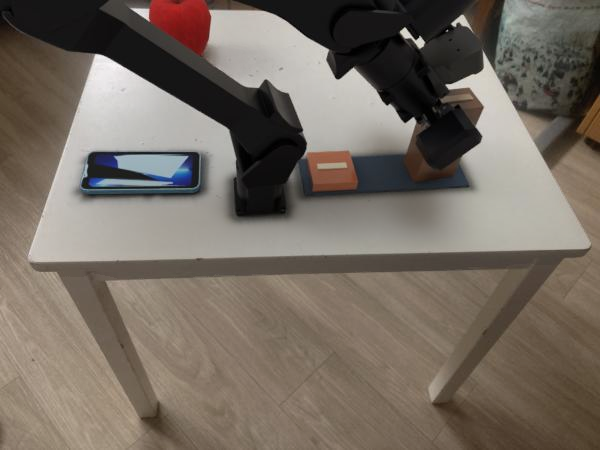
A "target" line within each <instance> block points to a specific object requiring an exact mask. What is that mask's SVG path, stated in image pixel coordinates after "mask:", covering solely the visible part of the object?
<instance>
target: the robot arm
mask: <svg viewBox="0 0 600 450" xmlns="http://www.w3.org/2000/svg"><path fill="white" fill-rule="evenodd" d="M232 1H233V2H236V3H239V4H242V5H244V6H248V7H250V8H253V9H256V10H259V11H263V12H266V13H267V14H268V13H269V14H271V15H274V16H276V17H278V18H280V19H281V20H282V21H285V22H287V23H288V24H289V25H290V26H292V27H293V28H294V29H296V30H297V32H299V33H301V34H302V35H303V36H304V37H305V38H307V39H309V40H310V41H313V42H314V43H316V44H318V45H320V46H321V47H323V48H325V49H327V50H328V51H327V53H326V54H327V55H326V58H325V61H326V63H327V65H328V67H329V69H330V71H331V73H332V75H333V76H334V79H336V80H341V79H342V78H343V77H344V76H346V75H347V74H348V73H349V72H350V71H351V70H353V69H354V70H355V71H356V72H357V73H358V74H359V75H360V76H361V77H362V78H363V79H364V80H365V81H366V82H367V83H368V84H369V85H370V86H371V87H372V88H373V89H374V90H375V91H376V93H377V94H378V96H379V98H380V100H381V102H382V103H383V104H384V105H386V106H387V107H388V106H389V105H390V106H391V107H392V108H394V110H395V112H396V114H397V115H398V118H399V119H400V120H401V121H402V122H403V123H404V124H407V123H408V122H410V120H412V119H414V121H415V123H416V122H417V123H418V125H419V126H420V127H421V126H423V125H424V124H426V123H427V126H425V129H424V130H423V131H422V132H420V133H419V134H418V135H416V138H417V139H416V142H415V144H416V146H417V148H418V149H419V151H420V153H421V155H422V156H423V158H424V160H425V161H426V163H427V164H428V165H429V166H430V167H431V168H432V169H433V170H434V171H441V170H443V169H444V168H446V167H447V166H448V165H450V164H451V163H453V162H454V161H456V160H457V159H458V158H460V157H461V156H462V157H463V156H464V155H465V154H467V153H469V152H470V151H471V150H473V149H475V148H476V147H477V146H478V145H480V144H481V143H482V140H483V134H482V133H481V132H480V130H479V129H478V127H477V125H476V126H475V125H474V124H473V122H472V121H471V119H470V118H469V117H468V115H467V114H466V113H465V112H464V110H463V109H462V108H461V107H460V105H459V104H457V105H456V106H454V107H453V106H452V104H451V103H449V102H446V103H442V101H441V100H440V99H443V98H444V97H445V96H446V95H448V94H449V93H450V89H449V87H448V86H447V85H453V84H455V83H458V82H460V81H461V80H464V79H466V78H468V77H470V76H473V75H474V76H475V75H478V74H480V73H481V72H483V70H484V69H485V63H484V45H483V42H482V41H481V40H480V38H479V37H478V36H477V35H476V34H475V32H473V30H472V29H471V28H470V27H469V26H466V25H463V24H462V23H461V22H460V21H458V22H456V23H455V25H453V23H454V22H455V21H457V20H458V19H459V18H460V17H461V16H462V15H463V14H465V13H466V12H467V11H468V10H469V9H470V8H472V7H473V6H474V5H476V3H477V2H479V0H232ZM0 12H1V15H2V18H3V19H4V20H5V21H6V22H7V23H8V24H9V25H10V26H11V27H13V28H14V29H15V30H16V31H19V33H21V34H24V35H25V36H28V37H30V38H33V39H35V40H38V41H40V42H43V43H45V44H48V45H50V46H53V47H55V48H57V49H60V50H63V51H64V52H68V53H69V52H70V53H78V54H87V55H88V54H89V55H97V56H98V55H99V56H102V57H105V58H107V59H108V60H111V61H112V62H114V63H116V64H117V65H119V66H121V67H122V68H125V70H127V71H130V72H131V73H133V74H134V75H136V76H138V77H139V78H142V79H143V80H144V81H146V82H148V83H150V84H151V85H154V86H155V87H157V88H158V89H160V90H162V91H163V92H165V93H167V94H168V95H171V96H172V97H174V98H176V99H177V100H179V101H180V102H182V103H183V104H186V105H187V106H189V107H191V108H193V109H194V110H195V111H198V112H199V113H201V114H202V115H204V116H206V117H208V118H209V119H211V120H212V121H214V122H216V123H218V124H220V125H221V126H223V127H225V128H226V129H228V130H229V131H228V132H229V136H230V140H231V143H232V147H233V152H234V155H235V172H236V173H235V175H236V176H235V177H233V180H232V181H233V196H234V212H235V216H238V217H247V216H248V217H249V216H263V215H264V216H265V215H280V214H283V215H284V214H285V213H287V210H288V208H287V201H286V194H285V188H284V185H286V184H287V183H288V181H289V179H290V178H291V175H292V174H293V171H294V170H295V169H296V166H297V164H298V163H299V160H300V159H303V157H304V156H305V153H307V152H306V151H307V146H308V142H307V140H306V136H305V134H304V128H303V126H302V122H301V120H300V118H299V115H298V113H297V111H296V108H295V106H294V103H293V100H292V98H291V95H290V93H288V92H284V91H282V90H279V89H278V88H277V87H276V86H275V85H274V84H273V83H272V82H271V81H270V80H268V79H267V78H265V79H264V80H262V82H261V84H260V85H259V87H251V86H246V85H244V84H241V83H240V82H238V81H237V80H235V78H233V77H231V76H230V75H228V74H227V73H225V72H224V71H223V70H222V69H221V70H220V69H219V68H218V67H216V66H215V65H214V64H212V63H210V62H209V61H208V60H206V59H205V58H203V57H202V56H199V55H198V54H196V53H195V52H193V51H192V50H190V49H189V48H187V47H186V46H184V45H183V44H181V43H180V42H179V41H177V40H176V39H174V38H173V37H171V36H170V35H168V34H167V33H165V32H164V31H163V30H161V29H160V28H158V27H157V26H155V25H154V24H152V23H151V22H150V21H149V19H147V18H145V17H144V16H142V15H141V14H139V13H138V12H137V11H135V10H133V9H132V8H130V7H129V6H128V5H127V4H126V3H125V2H124V1H123V0H0ZM404 29H406V30H407V32H408V33H409V34H410V36H411V37H407V38H405V37H404V35H403V34H402V33H401V32H402V31H403V30H404ZM420 38H421V39H422V41H423V42H424V43H423V46H422V47H419V46H418V45H417V43H416V42H415V41H418V39H420ZM413 39H414V40H413ZM433 107H434V108H435V109H436V111H437V112H436V113H435V111H434V110H433ZM423 115H425V116H426V118H427V119H425V118H424V116H423Z"/></svg>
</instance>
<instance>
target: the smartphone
mask: <svg viewBox="0 0 600 450" xmlns="http://www.w3.org/2000/svg"><path fill="white" fill-rule="evenodd" d="M202 160H203V159H202V154H201V152H199V151H197V150H92V151H90V152H89V153H88V154H87V155H86V158H85V161H84V166H83V169H82V174H81V178H80V181H79V188H80V191H81V193H83V194H85V195H111V194H114V195H115V194H118V195H119V194H120V195H122V194H125V195H126V194H194V193H197V192H199V191H200V190H201V182H202V181H201V180H202V162H203V161H202Z"/></svg>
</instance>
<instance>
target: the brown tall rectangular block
mask: <svg viewBox="0 0 600 450" xmlns="http://www.w3.org/2000/svg"><path fill="white" fill-rule="evenodd" d="M449 90H450V93H449V94H448V95H446V96H445V97H444V98H443V99H440V100H441V101H442V103H446V102H449V103H451V104H452V106H453V107H454V106H456V105H457V104H459V105H460V107H461V108H462V109H463V110H464V112H465V113H466V114H467V115H468V117H469V118H470V119H471V121H472V122H473V124H474V125H475V126H476V127H477V124H478V122H479V120H480V117H481V115H482V114H483V111H484V109H485V106H484V104H483V103H482V102H481V101H480V99H479V97H477V95H476V94H475V93H474V91H473V90H472V89H471V88H470V87H460V88H459V87H458V88H452V89H451V88H450V89H449ZM433 110H434V111H435V113H436V112H437V111H436V109H435V108H434V107H433ZM423 116H424V118H425V119H427V118H426V116H425V115H423ZM425 126H427V123H426V124H424V125H423V126H421V127H420V126H419V125H418V123H417V122H416V121H415V125H414V129H413V131H412V135H411V137H410V141H409V144H408V147H407V149H406V153H405V154H406V156H405V159H404V162H403V163H404V165H405V167H406V168H407V170H408V172H409V174H410V176H411V177H412V179H413V181H414V182H420V181H427V180H433V179H440V178H447V177H453V176H454V174H455V171H456V169H457V167H458V165H459V164H460V162H461V161H462V158H463V156H461V157H460V158H458V159H457V160H456V161H454V162H453V163H451V164H450V165H448V166H447V167H446V168H444V169H443V170H441V171H434V170H433V169H432V168H431V167H430V166H429V165H428V164H427V163H426V161H425V160H424V158H423V156H422V155H421V153H420V151H419V149H418V148H417V146H416V144H415V142H416V139H417V138H416V135H418V134H419V133H420V132H422V131H423V130H424V129H425Z"/></svg>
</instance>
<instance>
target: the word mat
mask: <svg viewBox="0 0 600 450" xmlns="http://www.w3.org/2000/svg"><path fill="white" fill-rule="evenodd" d="M405 156H406V153H405V154H386V155H385V154H384V155H383V154H382V155H365V156H351V159H352V162H353V166H354V169H355V173H356V176H357V180H358V184H357V188H356V189H354V190H335V191H317V192H312V187H311V182H310V177H309V172H308V167H307V162H306V158H301V159H300V160H299V161H298V165H299V171H300V176H301V182H302V187H303V193H304V196H305V197H310V196H327V195H344V194H345V195H347V194H363V193H366V194H367V193H381V192H382V193H384V192H401V191H418V190H434V189H435V190H437V189H453V188H455V189H456V188H469V186H470V183H469V181H468V179H467V177H466V174H465V172H464V171H463V169H462V166H461V164H460V163H459V165H458V167H457V169H456V171H455V174H454V176H453V177H447V178H440V179H433V180H427V181H420V182H414V181H413V179H412V177H411V176H410V174H409V172H408V170H407V168H406V167H405V165H404V163H403V162H404V159H405Z"/></svg>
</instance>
